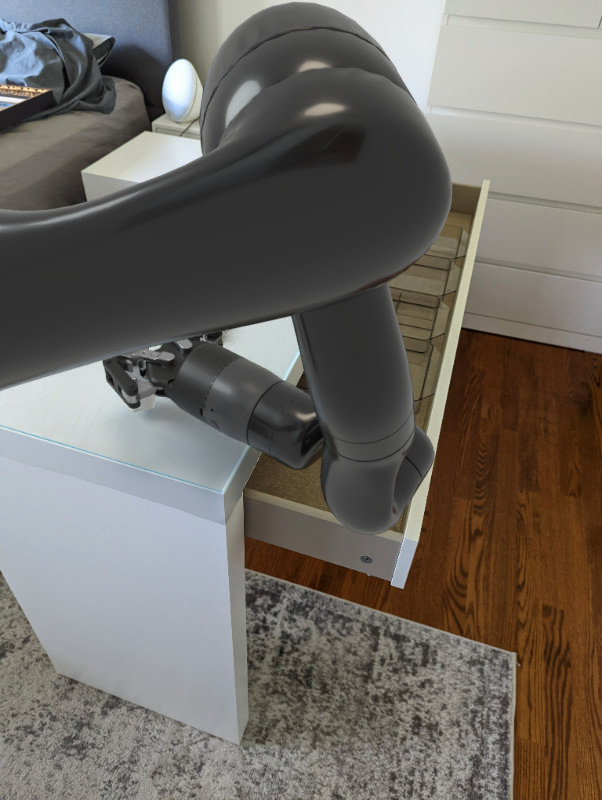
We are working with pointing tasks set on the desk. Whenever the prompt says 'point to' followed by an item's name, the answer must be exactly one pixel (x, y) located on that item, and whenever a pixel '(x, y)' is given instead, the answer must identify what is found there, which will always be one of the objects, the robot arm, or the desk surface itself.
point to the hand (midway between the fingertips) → (113, 330)
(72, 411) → the desk surface
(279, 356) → the desk surface
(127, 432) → the desk surface
